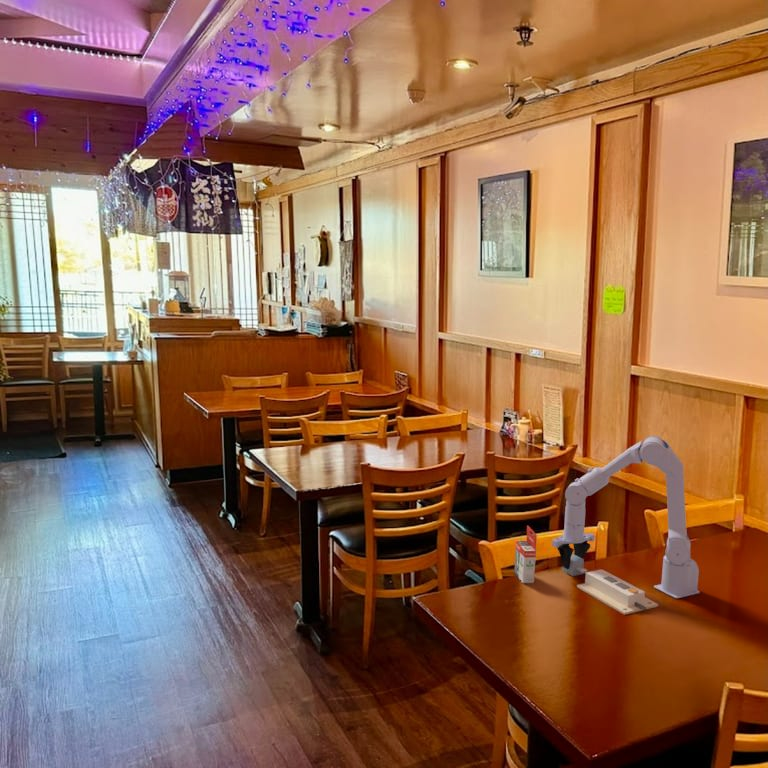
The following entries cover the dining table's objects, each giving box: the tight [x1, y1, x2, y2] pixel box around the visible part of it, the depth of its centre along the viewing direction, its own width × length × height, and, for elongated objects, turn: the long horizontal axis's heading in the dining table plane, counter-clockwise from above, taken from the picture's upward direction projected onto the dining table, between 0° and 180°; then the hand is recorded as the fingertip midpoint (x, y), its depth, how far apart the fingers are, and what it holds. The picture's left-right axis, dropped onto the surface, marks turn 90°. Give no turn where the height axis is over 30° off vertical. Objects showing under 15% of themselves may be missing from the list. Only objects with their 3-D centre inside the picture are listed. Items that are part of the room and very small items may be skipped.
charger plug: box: [561, 553, 588, 577], centre depth 199 cm, size 4×8×4 cm, turn 26°
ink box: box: [513, 525, 537, 584], centre depth 195 cm, size 4×8×15 cm, turn 7°
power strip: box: [576, 569, 659, 615], centre depth 184 cm, size 12×19×4 cm, turn 26°
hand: (571, 566), depth 200 cm, fingers closed on charger plug, 4 cm apart
